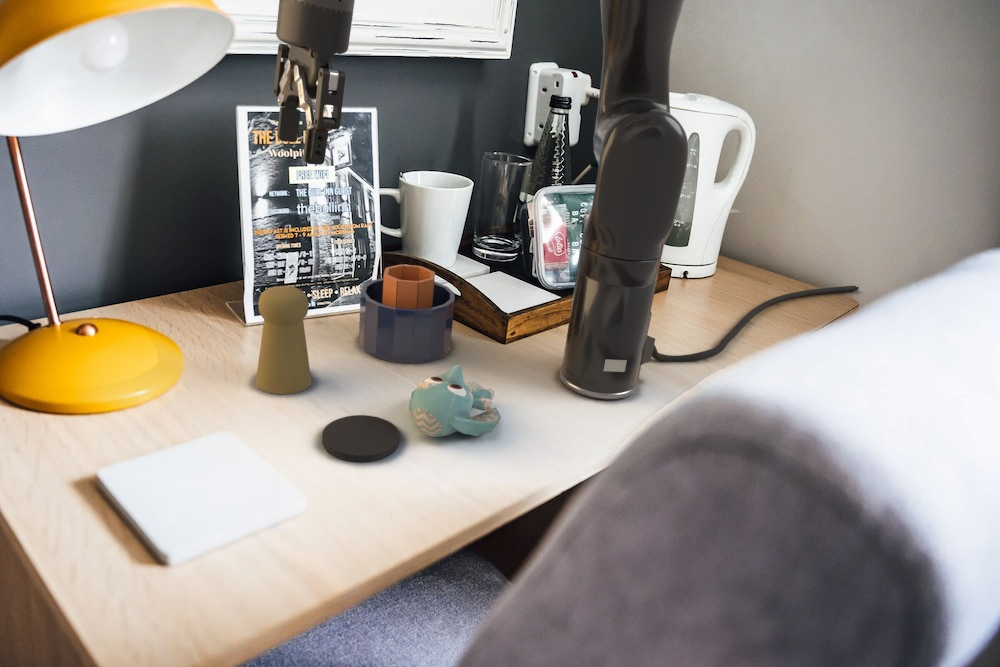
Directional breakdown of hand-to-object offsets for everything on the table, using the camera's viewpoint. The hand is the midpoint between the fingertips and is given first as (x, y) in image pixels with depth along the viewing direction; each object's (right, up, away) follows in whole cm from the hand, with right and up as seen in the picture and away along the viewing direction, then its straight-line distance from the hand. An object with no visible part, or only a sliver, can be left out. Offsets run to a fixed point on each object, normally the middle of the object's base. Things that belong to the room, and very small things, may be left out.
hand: (299, 151), depth 87 cm
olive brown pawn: (-2, -26, 0) cm, 26 cm away
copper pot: (+11, -21, +12) cm, 27 cm away
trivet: (+9, -31, -10) cm, 34 cm away
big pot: (+10, -22, +12) cm, 27 cm away
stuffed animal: (+18, -30, -4) cm, 35 cm away
